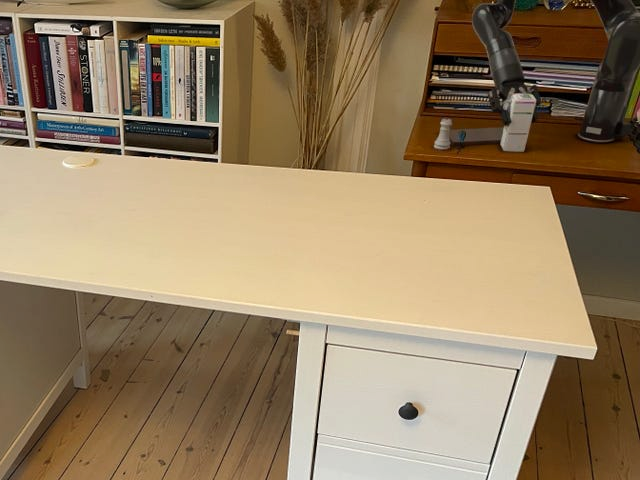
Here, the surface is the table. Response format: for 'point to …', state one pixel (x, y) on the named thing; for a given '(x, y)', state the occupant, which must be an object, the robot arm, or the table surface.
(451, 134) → the grey rectangular panel
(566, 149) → the table surface
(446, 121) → the rook chess piece
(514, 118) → the syrup box
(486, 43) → the robot arm
